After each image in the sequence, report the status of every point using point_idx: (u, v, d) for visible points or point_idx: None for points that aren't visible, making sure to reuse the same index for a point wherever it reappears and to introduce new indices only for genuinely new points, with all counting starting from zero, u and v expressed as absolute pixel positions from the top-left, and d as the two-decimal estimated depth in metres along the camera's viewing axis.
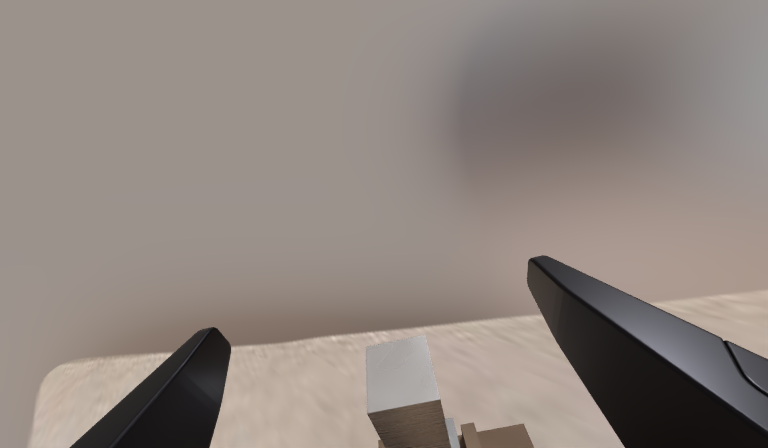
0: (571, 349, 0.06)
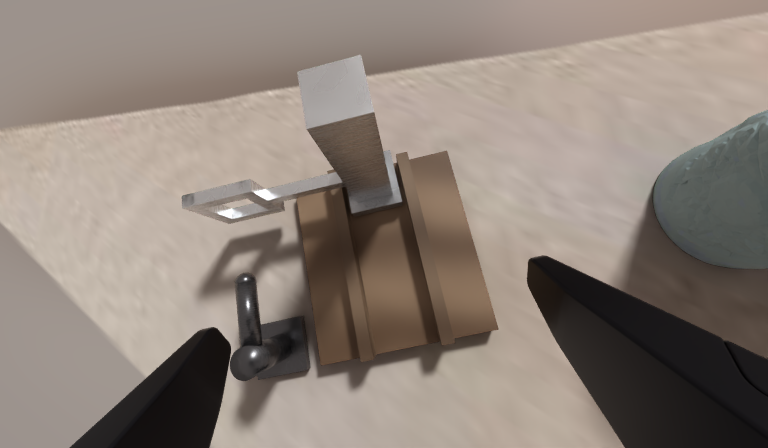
0: (571, 349, 0.06)
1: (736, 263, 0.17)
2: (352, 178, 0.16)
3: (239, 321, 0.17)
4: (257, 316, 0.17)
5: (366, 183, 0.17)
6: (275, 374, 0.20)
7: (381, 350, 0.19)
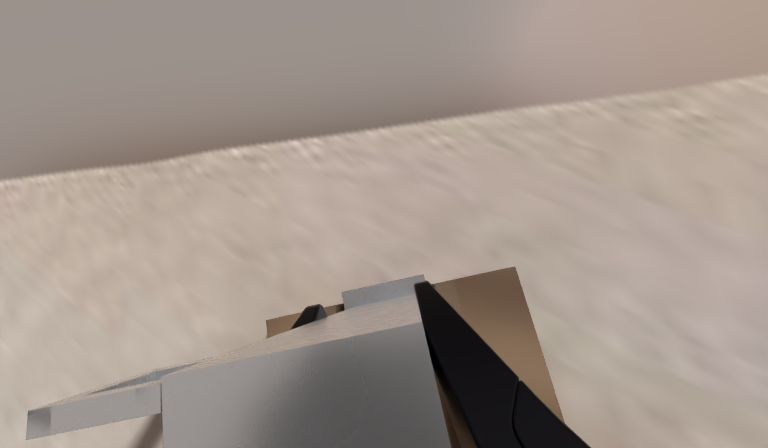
0: (437, 376, 0.07)
1: None
2: None
3: None
4: None
5: None
6: None
7: None
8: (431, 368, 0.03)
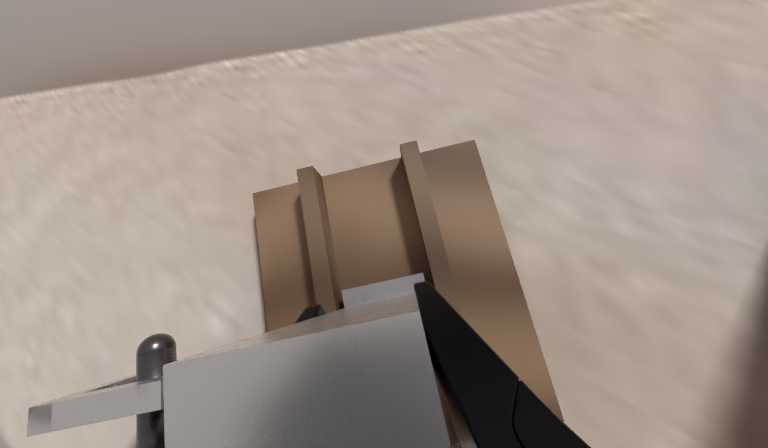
0: (437, 376, 0.07)
1: None
2: None
3: (137, 422, 0.10)
4: None
5: None
6: None
7: None
8: (428, 356, 0.03)
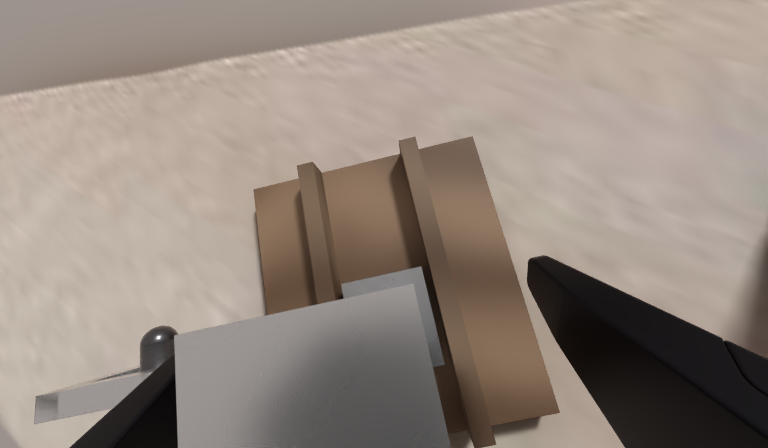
0: (571, 349, 0.06)
1: None
2: None
3: None
4: None
5: None
6: None
7: None
8: (421, 324, 0.03)
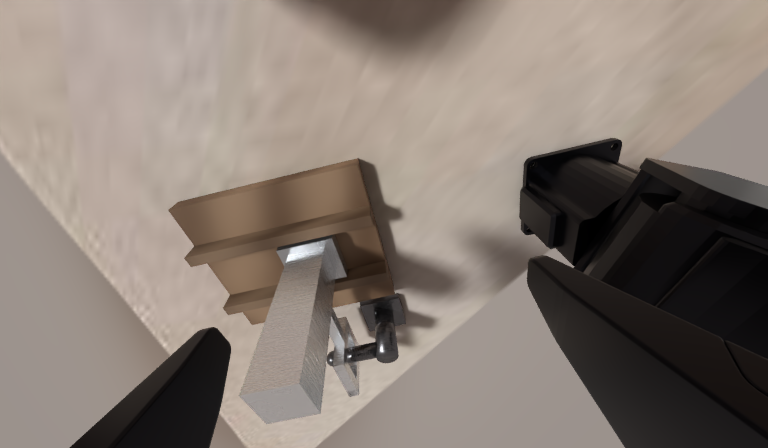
0: (571, 349, 0.06)
1: None
2: (327, 311, 0.17)
3: (360, 360, 0.23)
4: (357, 349, 0.23)
5: (326, 290, 0.18)
6: (402, 314, 0.27)
7: (382, 257, 0.22)
8: (247, 394, 0.12)
